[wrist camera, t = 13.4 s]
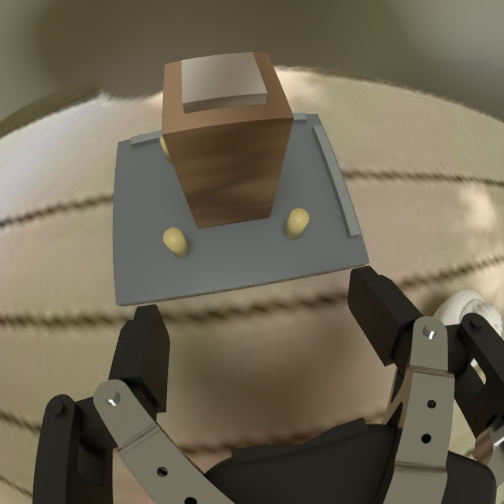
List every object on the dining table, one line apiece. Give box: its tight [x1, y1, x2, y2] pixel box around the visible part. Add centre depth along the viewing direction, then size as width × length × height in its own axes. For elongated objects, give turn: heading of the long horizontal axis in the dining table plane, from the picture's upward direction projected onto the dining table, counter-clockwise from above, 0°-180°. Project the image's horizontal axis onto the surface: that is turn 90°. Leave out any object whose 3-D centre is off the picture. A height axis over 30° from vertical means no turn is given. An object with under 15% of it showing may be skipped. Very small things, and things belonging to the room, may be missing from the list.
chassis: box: [113, 113, 369, 306], centre depth 19 cm, size 18×14×4 cm
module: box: [162, 52, 294, 229], centre depth 15 cm, size 5×5×11 cm
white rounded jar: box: [432, 289, 502, 367], centre depth 15 cm, size 6×6×7 cm
